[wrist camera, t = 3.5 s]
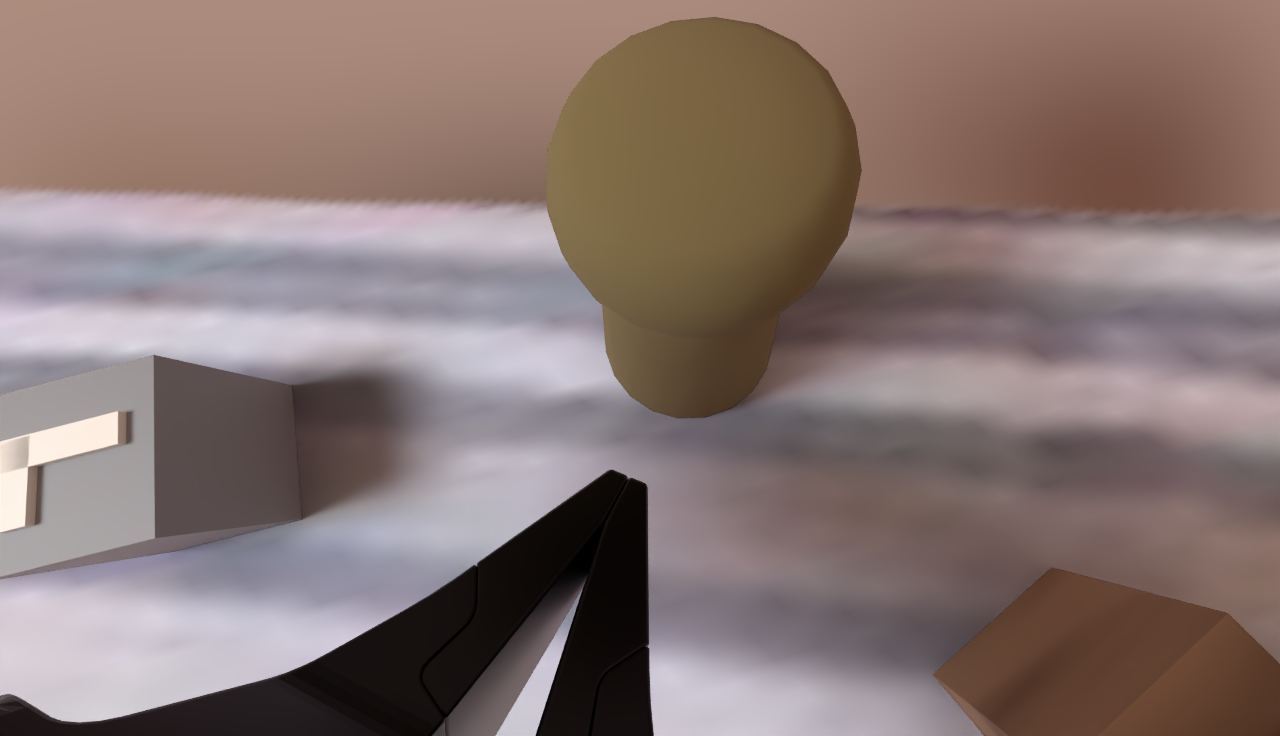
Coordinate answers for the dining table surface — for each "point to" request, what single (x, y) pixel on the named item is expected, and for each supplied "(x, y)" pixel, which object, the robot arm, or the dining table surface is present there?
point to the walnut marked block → (1113, 667)
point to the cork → (700, 202)
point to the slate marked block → (142, 463)
